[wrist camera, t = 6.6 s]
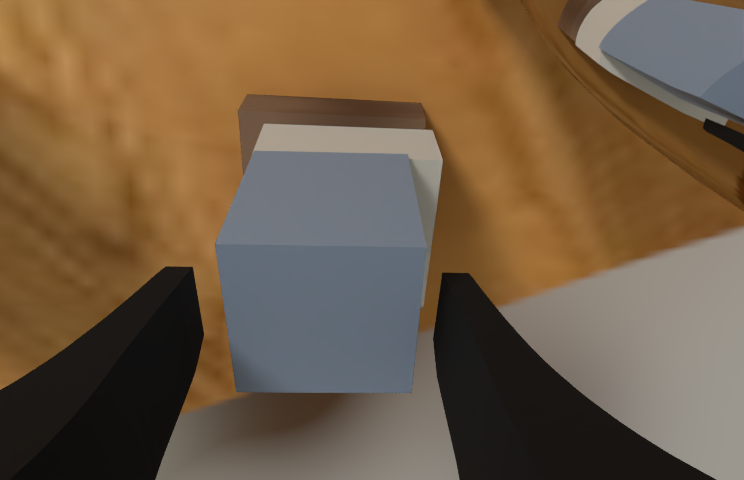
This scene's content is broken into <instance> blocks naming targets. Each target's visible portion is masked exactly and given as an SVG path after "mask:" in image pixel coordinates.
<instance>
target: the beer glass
mask: <svg viewBox="0 0 744 480" xmlns="http://www.w3.org/2000/svg"><path fill="white" fill-rule="evenodd" d="M520 1H521V3H522V4H523V6H524V8H525V10H526V11H527V13H528V15H529V16H530V18H531V19H532V21H533V23H534V24H535V26H536V27H537V29H538V31H539V32H540V34H541V35H542V37H543V39H544V40H545V42H546V43H547V45H548V46H549V48H550V49H551V51H552V52H553V53H554V55H555V56H556V57H557V59H558V60H559V61H560V62H561V64H562V65H563V66H564V67H565V68H566V69H567V70H568V71H569V72H570V74H571V75H572V76H573V77H574V78H575V79H576V80H577V81H578V82H579V83H580V84H581V85H582V86H583V87H584V88H586V89H587V90H588V91H589V92H590V93H591V94H592V95H593V96H594V97H595V98H596V99H597V100H598V101H599V102H600V103H601V104H602V105H603V106H604V107H605V108H606V109H607V110H608V111H609V112H610V113H611V114H612V115H613V116H614V117H615V118H616V119H617V120H619V121H620V122H621V123H622V124H623V125H625V126H626V127H627V128H628V129H630V130H631V131H632V132H634V133H635V134H636V135H638V136H639V137H640V138H641V139H643V140H644V141H645V142H647V143H648V144H649V145H651V146H652V147H653V148H655V149H656V150H657V151H659V152H660V153H661V154H663V155H664V156H665V157H666V158H668V159H669V160H670V161H672V162H673V163H674V164H676V165H677V166H678V167H680V168H681V169H682V170H684V171H685V172H686V173H688V174H689V175H690V176H692V177H693V178H694V179H696V180H697V181H699V182H700V183H702V184H703V185H705V186H706V187H708V188H709V189H711V190H712V191H714V192H715V193H717V194H718V195H720V196H721V197H723V198H724V199H726V200H727V201H729V202H730V203H732V204H733V205H735V206H736V207H738V208H739V209H741V210H742V211H744V0H520Z"/></svg>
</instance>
